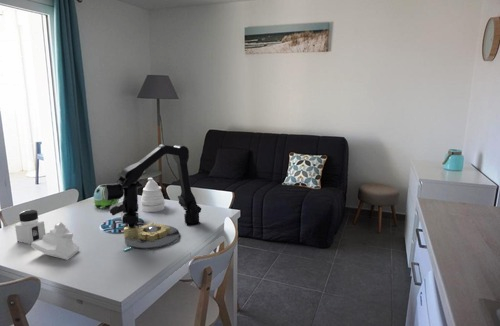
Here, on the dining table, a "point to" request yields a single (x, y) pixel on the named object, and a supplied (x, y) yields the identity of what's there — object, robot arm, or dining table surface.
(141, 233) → the gold block ring
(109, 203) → the turtle holder
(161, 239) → the grey round shallow disc
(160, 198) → the honey pot
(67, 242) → the white stepped peaked piece
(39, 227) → the container
